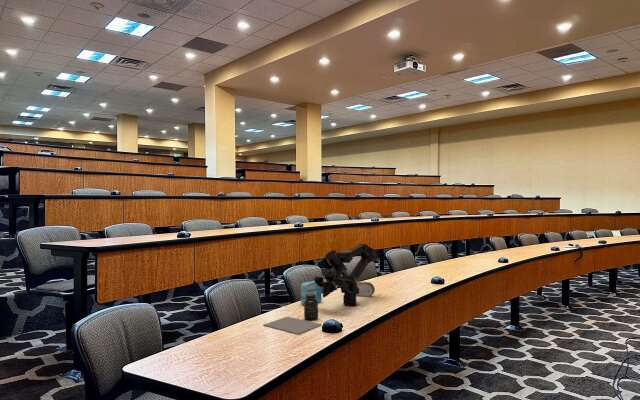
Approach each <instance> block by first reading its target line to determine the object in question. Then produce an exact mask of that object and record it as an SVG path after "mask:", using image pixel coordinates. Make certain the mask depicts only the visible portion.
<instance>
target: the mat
mask: <svg viewBox="0 0 640 400" xmlns="http://www.w3.org/2000/svg"><path fill="white" fill-rule="evenodd" d="M321 325H322V326H323V324H322V323H317V322H313V321H307V320H305V319H300V318H295V317H290V316H285V317H282V318H278V319H275V320H273V321H270V322H266V323H264V324H263V327H266V328H271V329H275V330H279V331H283V332H287V333H290V334H295V335H298V336H299V335H301V334H304V333H307V332H309V331H312V330H314V329H317V328H319V327H318V326H320V327H321ZM316 327H317V328H316ZM313 328H314V329H313ZM311 329H312V330H311Z"/></svg>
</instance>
